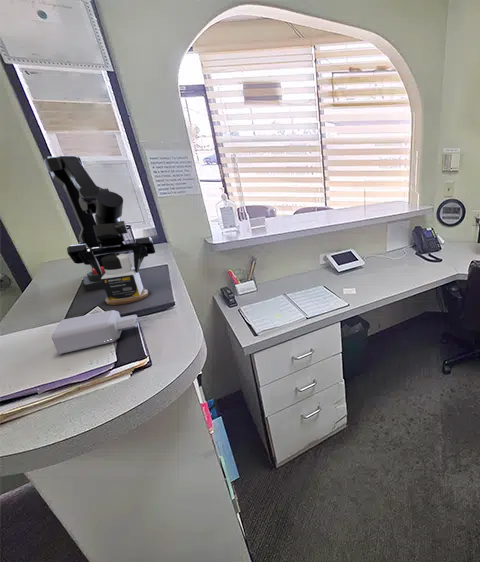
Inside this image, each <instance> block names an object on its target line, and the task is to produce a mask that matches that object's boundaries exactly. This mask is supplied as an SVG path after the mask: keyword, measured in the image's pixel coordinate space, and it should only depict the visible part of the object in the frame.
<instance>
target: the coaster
mask: <svg viewBox="0 0 480 562" xmlns="http://www.w3.org/2000/svg"><path fill="white" fill-rule="evenodd" d="M149 293H150V292H149V290H148V289H145V288H143V290H142V292H141V295H140V296H139V297H134V298H128V299H122V300H116V301H109V300H108V297H107V296H106V297H105V299H104V301H105V304H107V305H109V306H110V305H111V306H120V305H126V304H132V303H134V302H135V303H136V302H138V301H141V300H143V299H145V298H147V297H148V296H149Z"/></svg>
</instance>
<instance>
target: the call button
mask: <svg viewBox="0 0 480 562" xmlns="http://www.w3.org/2000/svg"><path fill="white" fill-rule="evenodd" d="M100 268H101V271H102V273H105V270H104V267H103V266H101V267H100ZM91 272H93V274H98V273H97V272H96V270H95V269H94V268H93V269H92V268H91Z"/></svg>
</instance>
